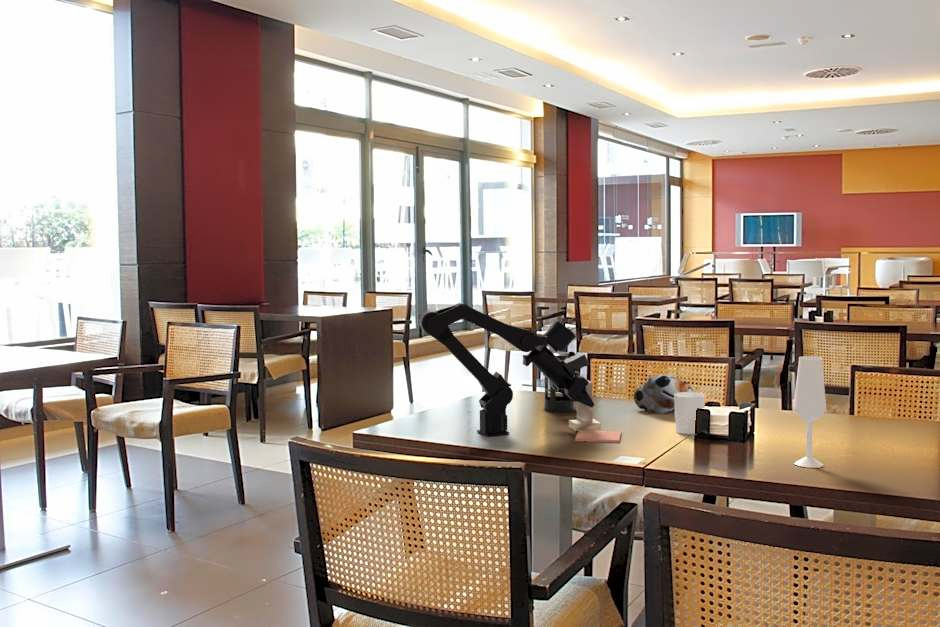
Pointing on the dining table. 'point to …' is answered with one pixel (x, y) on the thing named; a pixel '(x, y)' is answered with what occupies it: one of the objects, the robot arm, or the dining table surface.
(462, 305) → the robot arm
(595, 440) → the terracotta mat
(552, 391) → the french press
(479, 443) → the dining table surface
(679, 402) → the white cup
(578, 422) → the table number stand
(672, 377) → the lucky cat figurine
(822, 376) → the champagne flute
